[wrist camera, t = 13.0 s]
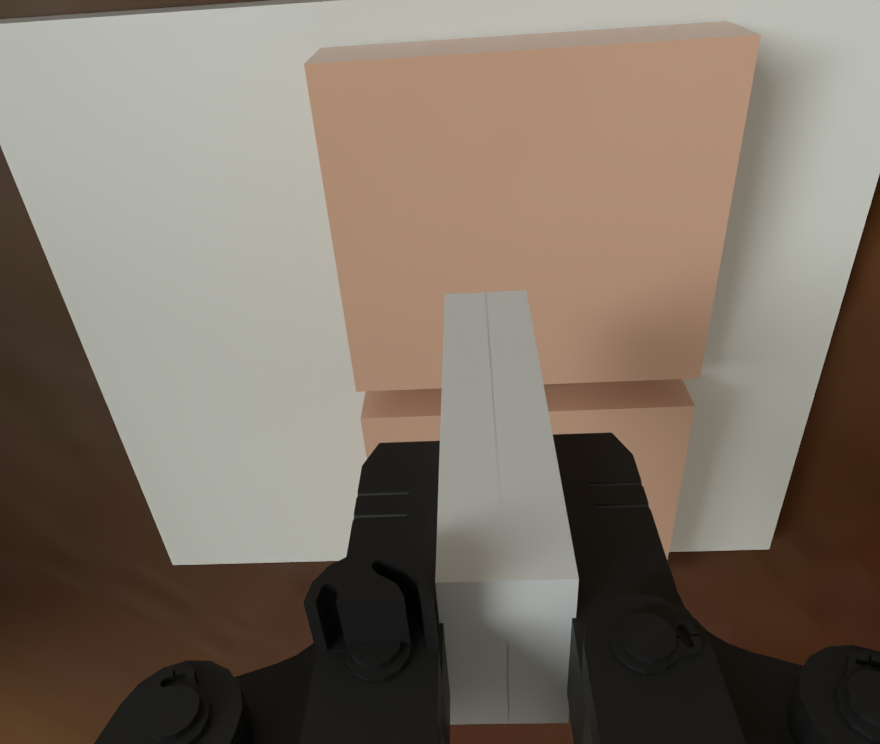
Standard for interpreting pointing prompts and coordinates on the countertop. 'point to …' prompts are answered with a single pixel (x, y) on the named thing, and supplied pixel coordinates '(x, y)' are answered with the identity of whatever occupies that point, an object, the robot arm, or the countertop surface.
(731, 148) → the tile
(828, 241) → the stone board
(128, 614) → the countertop surface
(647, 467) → the tile
